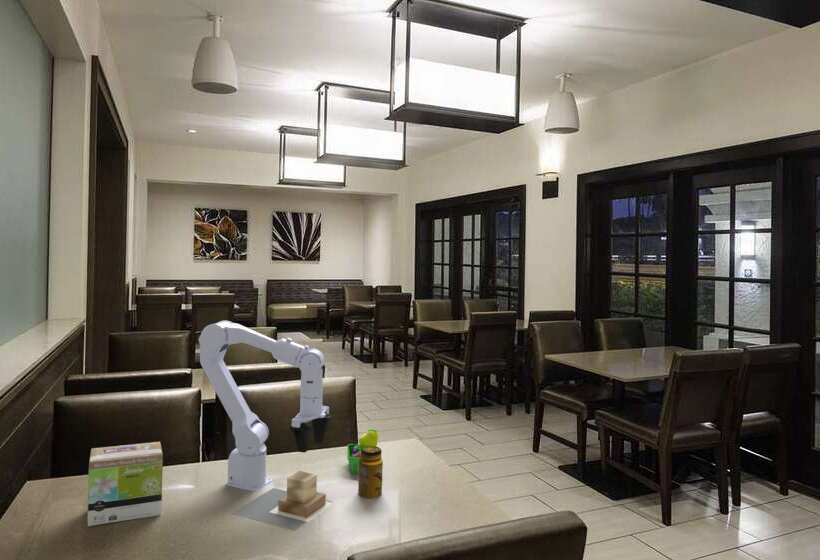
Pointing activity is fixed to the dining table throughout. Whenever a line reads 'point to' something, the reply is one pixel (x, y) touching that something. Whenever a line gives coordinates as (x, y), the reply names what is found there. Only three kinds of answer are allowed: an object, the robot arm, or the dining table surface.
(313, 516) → the mat
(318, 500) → the walnut base
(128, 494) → the tea box
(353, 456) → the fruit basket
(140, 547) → the dining table surface
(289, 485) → the maple cube
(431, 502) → the dining table surface
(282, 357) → the robot arm
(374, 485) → the condiment
